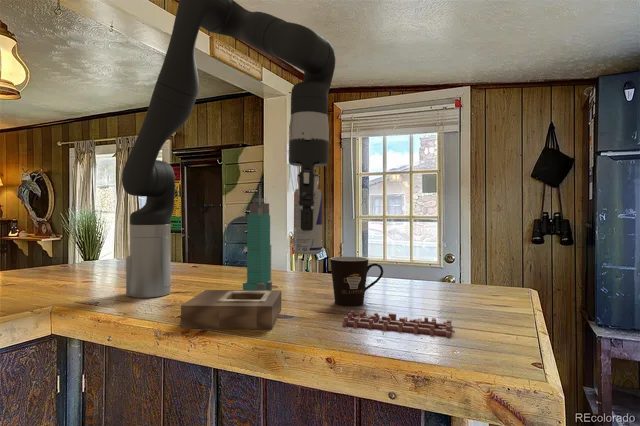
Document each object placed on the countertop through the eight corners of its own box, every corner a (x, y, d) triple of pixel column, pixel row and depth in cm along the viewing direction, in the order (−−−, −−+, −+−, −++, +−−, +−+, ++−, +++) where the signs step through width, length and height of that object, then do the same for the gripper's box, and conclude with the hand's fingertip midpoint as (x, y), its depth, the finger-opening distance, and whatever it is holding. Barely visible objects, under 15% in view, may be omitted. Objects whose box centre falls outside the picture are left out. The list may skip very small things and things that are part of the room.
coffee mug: (326, 306, 86) (326, 260, 86) (334, 298, 95) (334, 256, 95) (380, 309, 84) (380, 262, 84) (383, 300, 92) (383, 257, 92)
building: (276, 294, 99) (277, 173, 98) (261, 299, 93) (261, 171, 93) (258, 291, 102) (258, 174, 102) (241, 296, 97) (242, 172, 97)
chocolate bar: (454, 341, 65) (454, 329, 65) (342, 329, 72) (342, 318, 72) (455, 328, 72) (455, 318, 72) (353, 319, 78) (353, 309, 78)
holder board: (181, 328, 70) (181, 303, 70) (205, 308, 84) (205, 288, 84) (271, 329, 70) (272, 304, 69) (281, 309, 84) (281, 288, 83)
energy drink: (324, 252, 77) (325, 190, 77) (317, 255, 72) (318, 188, 72) (298, 251, 79) (299, 190, 79) (289, 253, 74) (290, 188, 73)
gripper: (292, 145, 82) (291, 227, 83) (284, 132, 68) (283, 231, 68) (328, 146, 82) (327, 228, 82) (328, 132, 68) (327, 232, 68)
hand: (307, 229), depth 75 cm, fingers closed on energy drink, 5 cm apart
